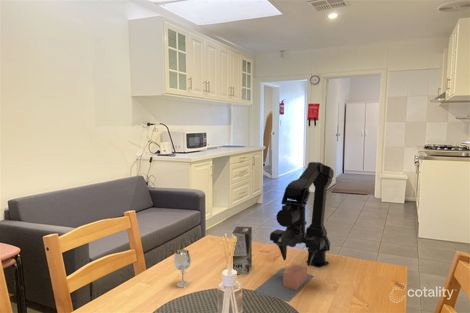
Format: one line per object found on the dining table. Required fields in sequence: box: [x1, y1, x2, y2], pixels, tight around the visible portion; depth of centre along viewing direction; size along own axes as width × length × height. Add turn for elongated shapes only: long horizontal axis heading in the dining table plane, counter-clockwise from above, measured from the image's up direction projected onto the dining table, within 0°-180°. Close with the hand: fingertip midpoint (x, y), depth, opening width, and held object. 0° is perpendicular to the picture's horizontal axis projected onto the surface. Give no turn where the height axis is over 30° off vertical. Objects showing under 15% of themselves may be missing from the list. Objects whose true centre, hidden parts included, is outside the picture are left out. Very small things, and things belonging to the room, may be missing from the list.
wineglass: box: [173, 249, 192, 288], centre depth 120 cm, size 6×6×12 cm
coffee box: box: [231, 226, 253, 276], centre depth 131 cm, size 9×6×16 cm
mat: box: [253, 267, 315, 303], centre depth 120 cm, size 22×13×1 cm, turn 146°
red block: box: [283, 263, 308, 290], centre depth 120 cm, size 5×5×9 cm
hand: (296, 262), depth 120 cm, fingers open, 9 cm apart
